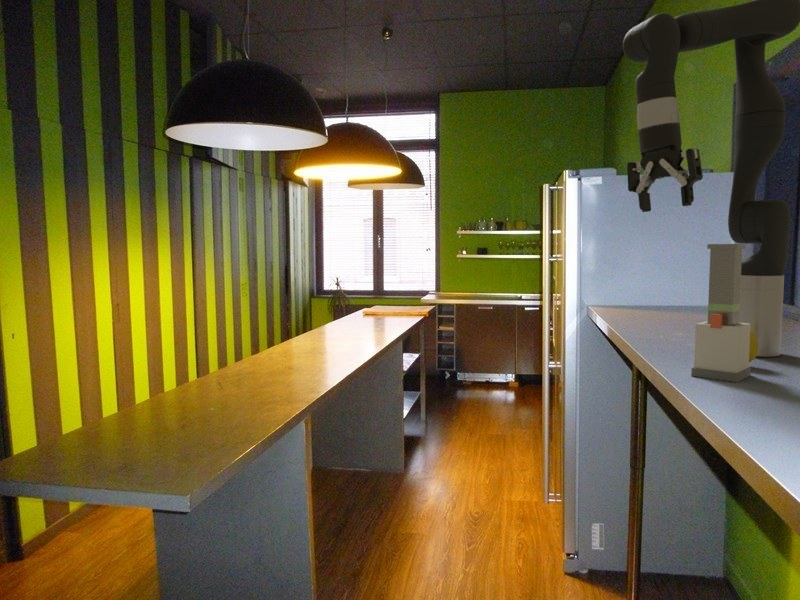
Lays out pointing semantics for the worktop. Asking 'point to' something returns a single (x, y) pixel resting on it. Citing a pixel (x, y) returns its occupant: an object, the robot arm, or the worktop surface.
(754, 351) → the lemon
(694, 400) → the worktop surface
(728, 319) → the column
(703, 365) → the stand
